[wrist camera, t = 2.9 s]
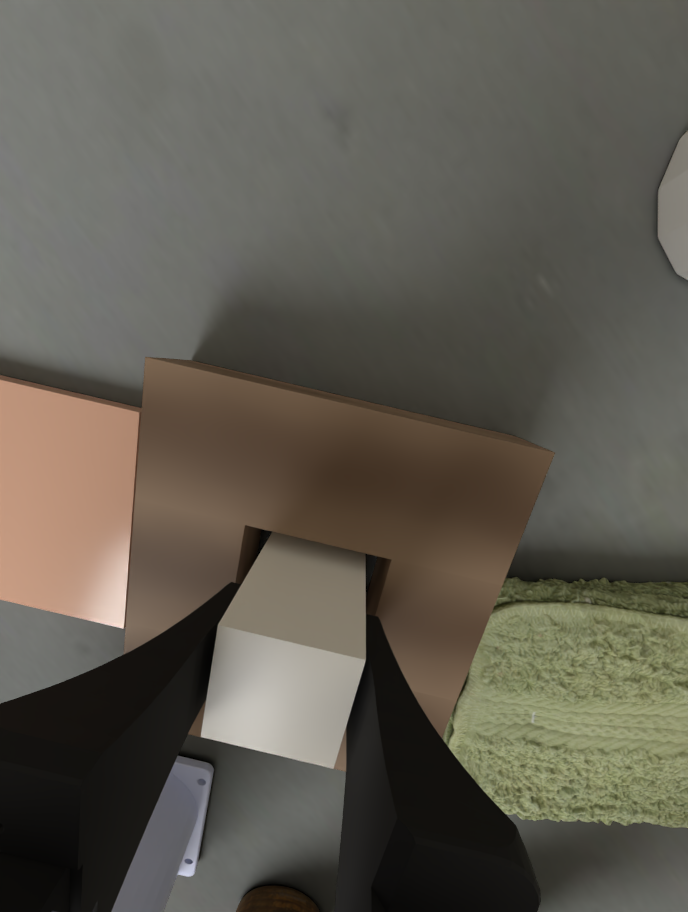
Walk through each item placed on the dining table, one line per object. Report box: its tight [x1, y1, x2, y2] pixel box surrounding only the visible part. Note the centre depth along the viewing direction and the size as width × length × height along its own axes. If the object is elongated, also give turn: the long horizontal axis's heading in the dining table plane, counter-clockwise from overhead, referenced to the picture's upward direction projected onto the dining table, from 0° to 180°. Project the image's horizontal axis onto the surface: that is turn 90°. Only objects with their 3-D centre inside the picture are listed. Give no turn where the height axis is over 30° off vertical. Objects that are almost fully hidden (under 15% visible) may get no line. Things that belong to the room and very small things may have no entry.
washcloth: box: [443, 577, 688, 828], centre depth 16 cm, size 13×18×3 cm
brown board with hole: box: [124, 357, 555, 772], centre depth 15 cm, size 16×14×3 cm
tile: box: [0, 375, 142, 629], centre depth 16 cm, size 11×11×1 cm
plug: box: [201, 532, 366, 769], centre depth 13 cm, size 4×4×7 cm
